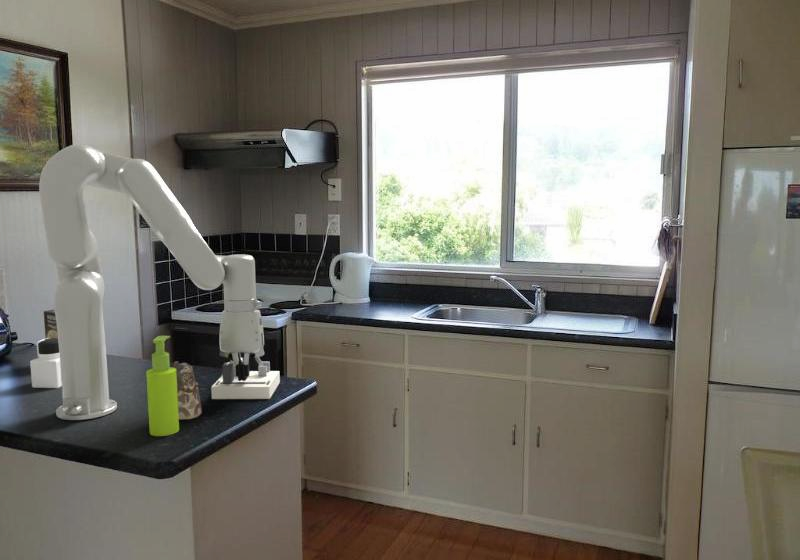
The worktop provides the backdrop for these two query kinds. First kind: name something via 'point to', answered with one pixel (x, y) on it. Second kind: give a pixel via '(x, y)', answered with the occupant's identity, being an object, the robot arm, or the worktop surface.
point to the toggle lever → (260, 362)
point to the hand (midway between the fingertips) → (242, 379)
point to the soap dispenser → (162, 393)
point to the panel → (248, 385)
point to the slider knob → (228, 372)
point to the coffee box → (50, 324)
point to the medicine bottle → (46, 365)
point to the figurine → (187, 392)
